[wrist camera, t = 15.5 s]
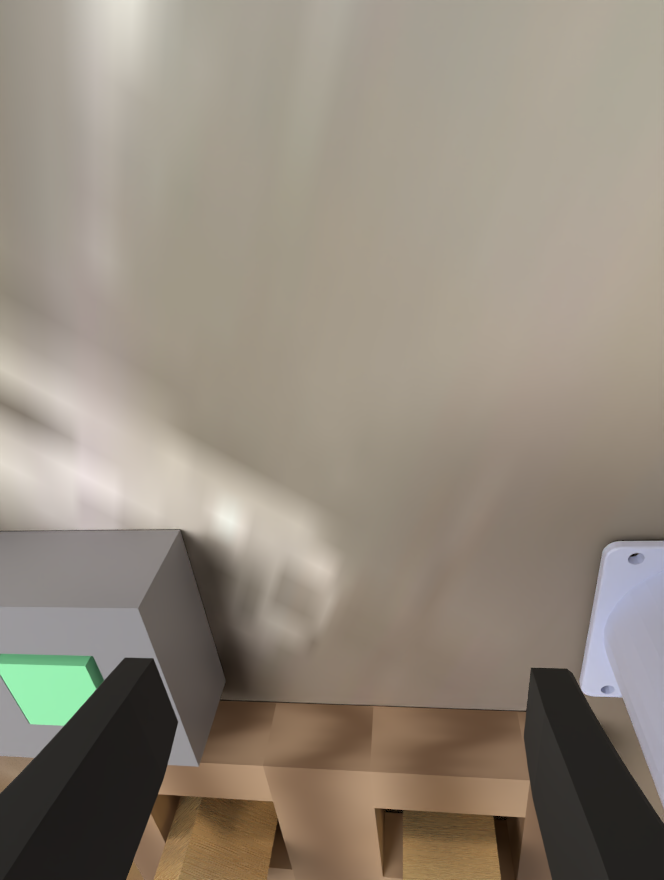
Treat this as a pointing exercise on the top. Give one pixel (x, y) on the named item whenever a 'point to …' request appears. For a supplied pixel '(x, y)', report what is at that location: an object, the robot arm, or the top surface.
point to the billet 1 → (219, 840)
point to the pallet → (359, 784)
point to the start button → (50, 684)
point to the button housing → (108, 622)
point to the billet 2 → (449, 846)
